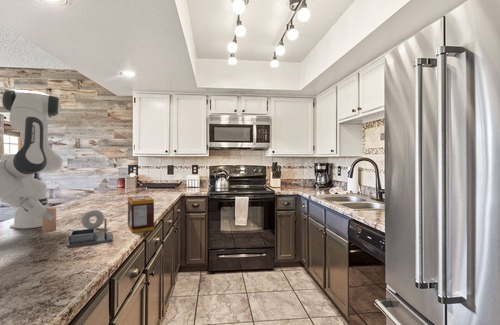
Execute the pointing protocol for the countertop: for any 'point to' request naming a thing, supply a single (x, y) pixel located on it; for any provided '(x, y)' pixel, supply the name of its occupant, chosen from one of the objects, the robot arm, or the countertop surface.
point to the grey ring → (90, 213)
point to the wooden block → (49, 221)
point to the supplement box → (140, 213)
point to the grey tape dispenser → (89, 236)
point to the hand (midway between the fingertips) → (51, 217)
